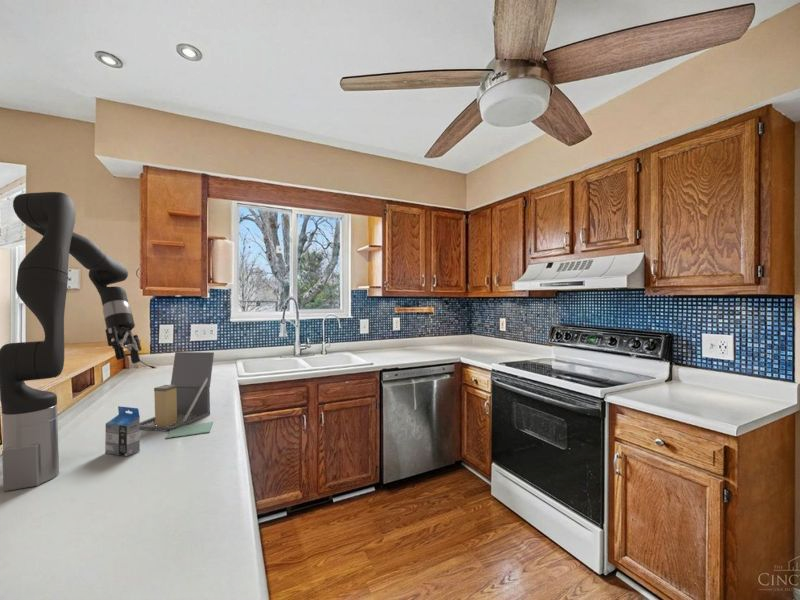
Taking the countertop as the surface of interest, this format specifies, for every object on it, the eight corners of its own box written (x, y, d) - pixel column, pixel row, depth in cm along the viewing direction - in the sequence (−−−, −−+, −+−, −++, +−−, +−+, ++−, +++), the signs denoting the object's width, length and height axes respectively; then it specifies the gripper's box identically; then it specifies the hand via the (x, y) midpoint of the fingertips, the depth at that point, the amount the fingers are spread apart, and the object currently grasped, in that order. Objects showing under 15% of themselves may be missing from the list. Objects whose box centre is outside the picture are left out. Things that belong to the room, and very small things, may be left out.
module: (166, 426, 120) (165, 388, 120) (155, 426, 121) (154, 388, 121) (177, 421, 125) (176, 385, 125) (166, 421, 126) (165, 384, 125)
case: (173, 431, 116) (171, 361, 116) (131, 428, 119) (129, 360, 119) (215, 411, 135) (214, 352, 135) (178, 410, 138) (176, 351, 138)
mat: (209, 432, 114) (209, 431, 114) (165, 439, 109) (165, 437, 109) (213, 422, 123) (213, 421, 123) (172, 428, 118) (172, 427, 118)
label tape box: (104, 453, 100) (103, 409, 100) (119, 447, 103) (118, 405, 103) (126, 457, 97) (125, 412, 97) (141, 451, 101) (140, 407, 101)
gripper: (117, 307, 115) (128, 353, 111) (142, 317, 128) (152, 359, 124) (91, 315, 113) (102, 362, 109) (119, 325, 126) (129, 367, 123)
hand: (129, 360), depth 117 cm, fingers open, 8 cm apart
